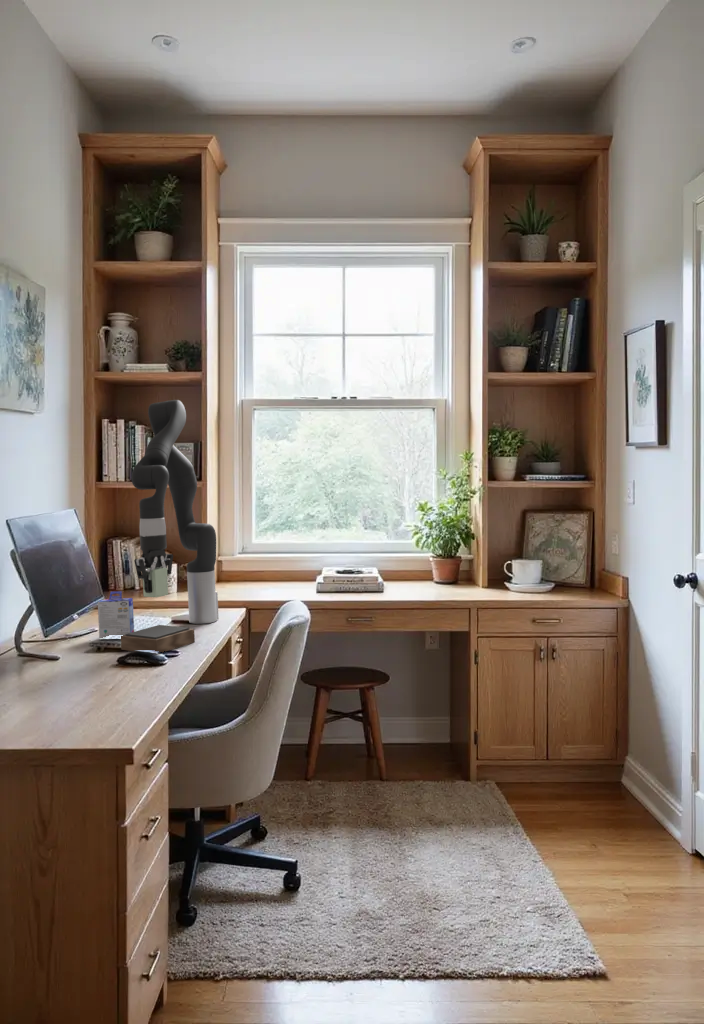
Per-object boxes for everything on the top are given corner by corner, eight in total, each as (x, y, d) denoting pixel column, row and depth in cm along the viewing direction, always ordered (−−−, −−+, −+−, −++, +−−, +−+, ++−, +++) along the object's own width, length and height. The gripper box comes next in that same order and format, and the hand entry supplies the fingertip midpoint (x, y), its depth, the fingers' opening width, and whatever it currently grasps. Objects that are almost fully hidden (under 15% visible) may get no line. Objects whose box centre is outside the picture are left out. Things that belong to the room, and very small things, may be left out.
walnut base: (159, 638, 254) (159, 623, 253) (194, 642, 247) (194, 627, 246) (121, 649, 240) (120, 634, 240) (157, 654, 233) (156, 638, 233)
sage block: (155, 593, 246) (154, 567, 245) (168, 594, 243) (167, 567, 243) (143, 596, 241) (142, 569, 241) (156, 597, 239) (154, 570, 238)
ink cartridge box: (135, 635, 259) (133, 590, 258) (131, 639, 253) (129, 593, 252) (103, 637, 258) (101, 591, 258) (99, 641, 253) (96, 594, 252)
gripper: (160, 531, 249) (163, 586, 250) (125, 535, 237) (128, 594, 238) (179, 531, 245) (182, 588, 246) (144, 536, 233) (147, 595, 234)
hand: (155, 590), depth 242 cm, fingers closed on sage block, 5 cm apart
